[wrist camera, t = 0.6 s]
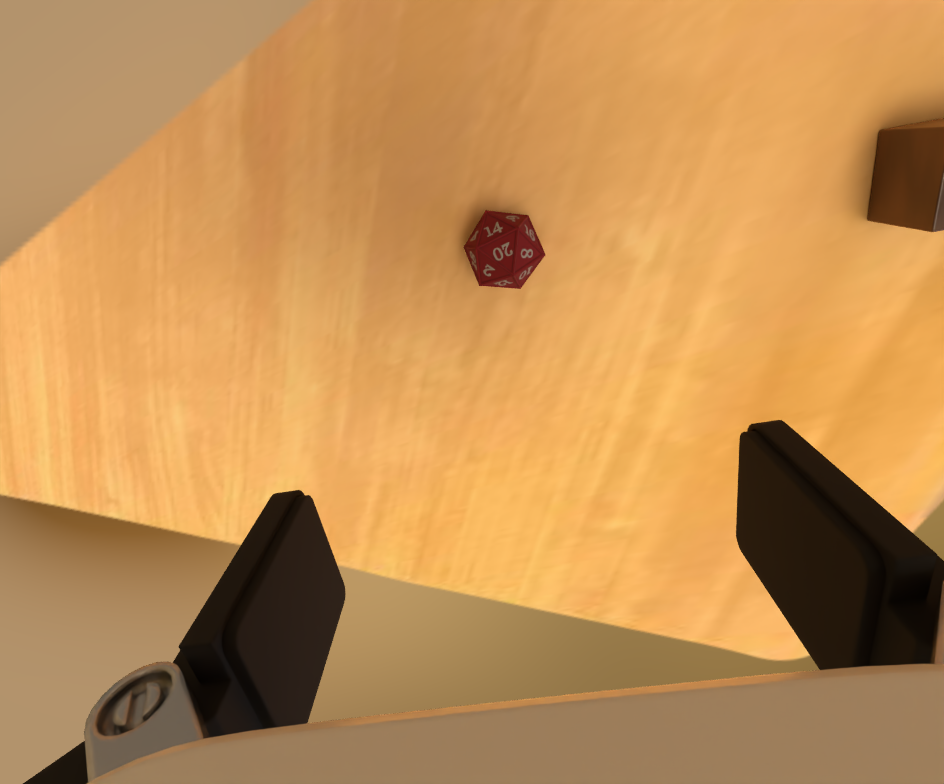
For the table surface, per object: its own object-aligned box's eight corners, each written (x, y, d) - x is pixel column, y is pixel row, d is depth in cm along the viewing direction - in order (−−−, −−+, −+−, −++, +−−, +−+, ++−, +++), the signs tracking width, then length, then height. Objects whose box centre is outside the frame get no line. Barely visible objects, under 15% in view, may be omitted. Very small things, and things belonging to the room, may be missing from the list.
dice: (517, 190, 28) (522, 196, 24) (548, 266, 29) (558, 282, 26) (454, 222, 28) (450, 232, 25) (488, 294, 30) (489, 313, 27)
